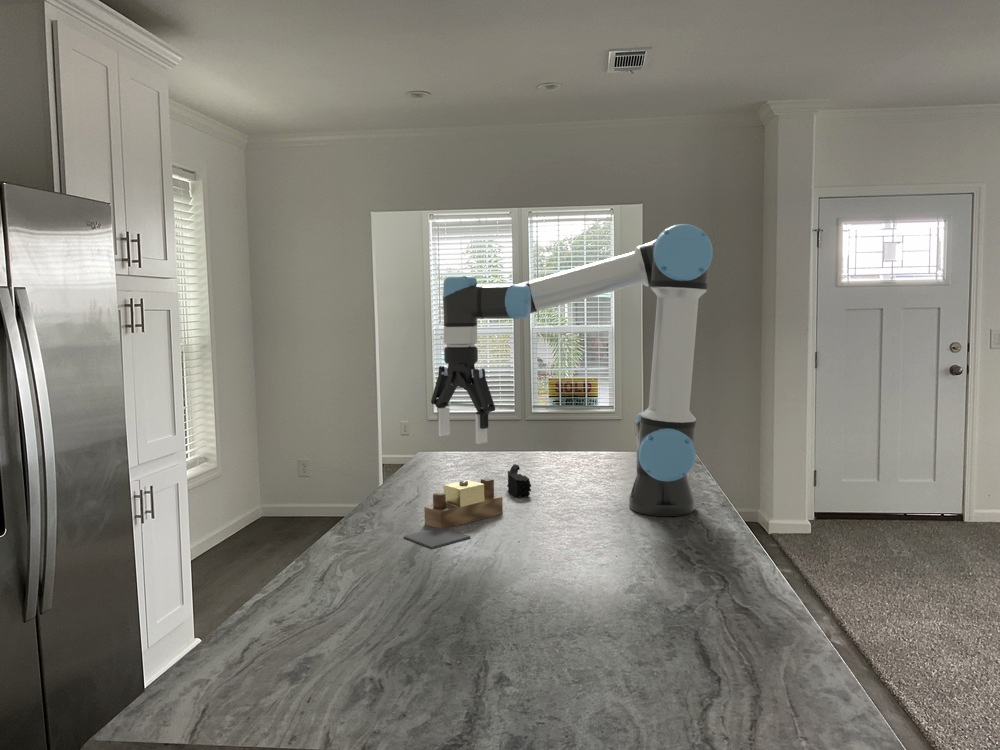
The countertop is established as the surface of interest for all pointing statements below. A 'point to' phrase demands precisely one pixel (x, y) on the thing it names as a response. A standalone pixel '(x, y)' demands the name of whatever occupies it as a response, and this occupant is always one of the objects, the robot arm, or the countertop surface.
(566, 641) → the countertop surface
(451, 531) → the mat
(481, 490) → the yellow block with knob
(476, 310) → the robot arm
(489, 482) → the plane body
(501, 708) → the countertop surface
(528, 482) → the toy
